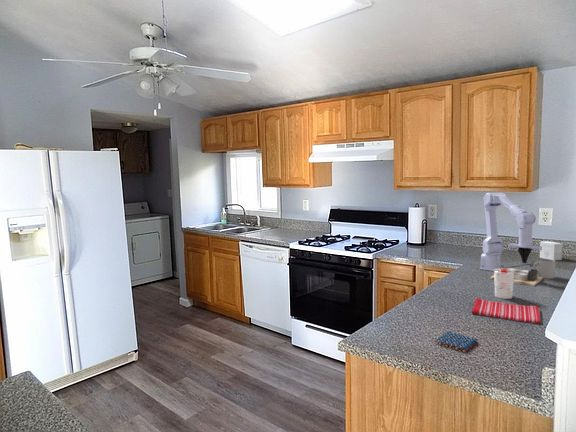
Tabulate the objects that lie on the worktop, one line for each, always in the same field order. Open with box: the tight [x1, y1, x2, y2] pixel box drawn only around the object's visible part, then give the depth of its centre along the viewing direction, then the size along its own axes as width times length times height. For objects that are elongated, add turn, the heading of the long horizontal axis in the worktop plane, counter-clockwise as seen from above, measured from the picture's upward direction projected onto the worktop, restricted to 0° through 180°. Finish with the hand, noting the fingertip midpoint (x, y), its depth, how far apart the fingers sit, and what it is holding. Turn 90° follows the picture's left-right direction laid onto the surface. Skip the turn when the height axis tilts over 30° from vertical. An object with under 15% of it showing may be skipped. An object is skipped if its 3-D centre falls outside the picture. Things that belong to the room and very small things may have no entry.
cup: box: [532, 258, 557, 280], centre depth 207 cm, size 7×10×9 cm
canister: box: [493, 268, 515, 300], centre depth 176 cm, size 10×8×12 cm
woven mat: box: [434, 331, 479, 353], centre depth 131 cm, size 10×11×2 cm
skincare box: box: [539, 240, 563, 261], centre depth 246 cm, size 10×6×10 cm, turn 14°
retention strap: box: [500, 262, 534, 269], centre depth 203 cm, size 16×3×2 cm, turn 45°
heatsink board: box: [489, 265, 544, 287], centre depth 203 cm, size 20×16×6 cm
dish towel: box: [471, 298, 542, 325], centre depth 157 cm, size 17×24×3 cm
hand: (524, 262), depth 200 cm, fingers closed
